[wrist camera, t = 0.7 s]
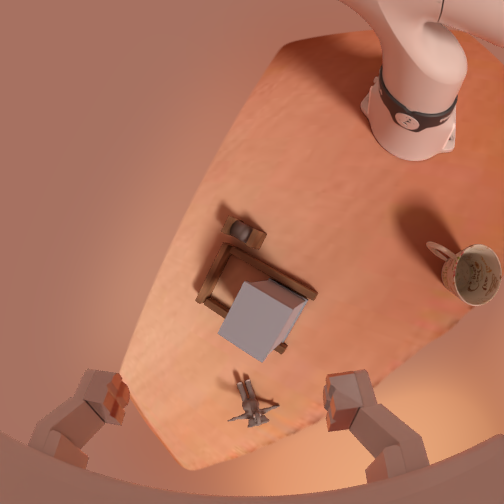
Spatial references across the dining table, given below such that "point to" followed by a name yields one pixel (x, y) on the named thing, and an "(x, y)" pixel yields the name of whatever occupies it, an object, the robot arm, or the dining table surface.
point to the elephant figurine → (251, 406)
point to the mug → (470, 272)
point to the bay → (252, 240)
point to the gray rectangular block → (262, 317)
